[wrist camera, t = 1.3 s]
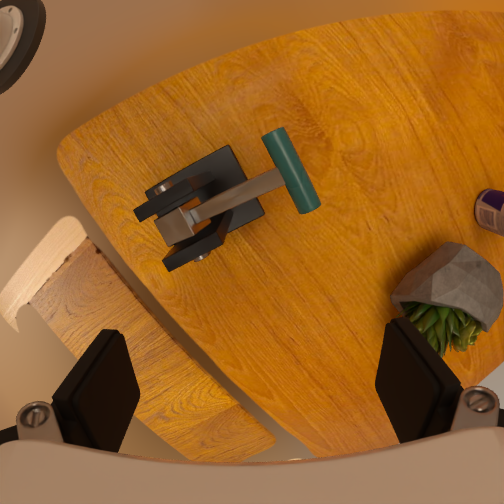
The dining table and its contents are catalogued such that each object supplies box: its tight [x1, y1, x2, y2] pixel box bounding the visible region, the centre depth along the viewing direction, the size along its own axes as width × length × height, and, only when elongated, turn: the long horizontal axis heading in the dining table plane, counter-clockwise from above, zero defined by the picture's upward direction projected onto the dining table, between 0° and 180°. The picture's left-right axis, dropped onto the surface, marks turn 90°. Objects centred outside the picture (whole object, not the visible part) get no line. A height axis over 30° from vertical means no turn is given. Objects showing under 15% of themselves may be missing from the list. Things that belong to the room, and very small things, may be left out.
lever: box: [154, 127, 321, 247], centre depth 20 cm, size 11×5×2 cm, turn 117°
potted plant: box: [390, 241, 503, 358], centre depth 31 cm, size 12×13×15 cm
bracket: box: [133, 145, 265, 272], centre depth 27 cm, size 10×8×13 cm
